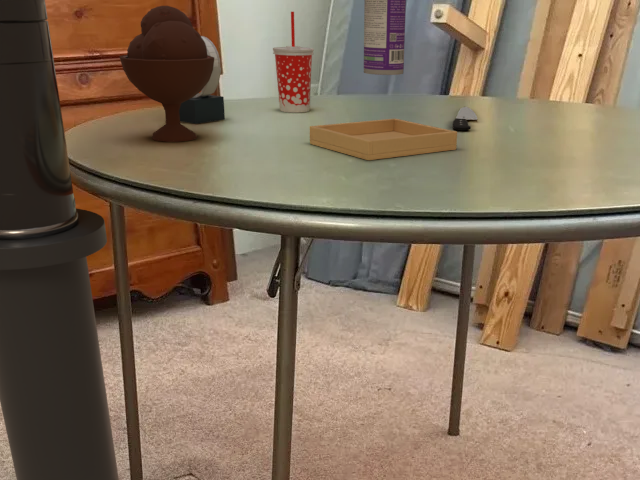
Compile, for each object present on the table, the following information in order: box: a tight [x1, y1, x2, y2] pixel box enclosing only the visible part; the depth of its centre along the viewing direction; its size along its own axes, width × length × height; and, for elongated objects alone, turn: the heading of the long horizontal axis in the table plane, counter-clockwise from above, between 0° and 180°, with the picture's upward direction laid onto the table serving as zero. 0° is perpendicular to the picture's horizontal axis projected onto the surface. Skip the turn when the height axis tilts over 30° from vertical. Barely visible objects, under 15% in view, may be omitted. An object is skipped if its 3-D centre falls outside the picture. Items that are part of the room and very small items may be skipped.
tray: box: [309, 118, 458, 161], centre depth 96 cm, size 13×12×2 cm
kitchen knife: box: [452, 106, 478, 131], centre depth 118 cm, size 23×3×1 cm, turn 171°
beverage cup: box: [272, 11, 315, 113], centre depth 120 cm, size 6×6×14 cm
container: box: [363, 0, 407, 76], centre depth 90 cm, size 5×5×15 cm
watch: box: [179, 35, 226, 125], centre depth 110 cm, size 6×8×11 cm
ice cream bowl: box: [119, 5, 214, 143], centre depth 96 cm, size 11×11×15 cm
